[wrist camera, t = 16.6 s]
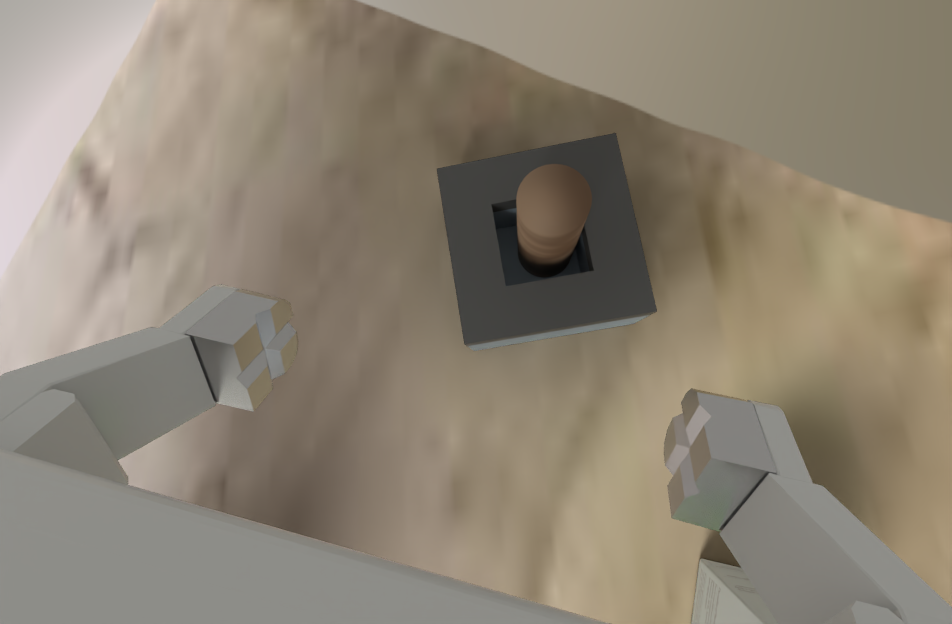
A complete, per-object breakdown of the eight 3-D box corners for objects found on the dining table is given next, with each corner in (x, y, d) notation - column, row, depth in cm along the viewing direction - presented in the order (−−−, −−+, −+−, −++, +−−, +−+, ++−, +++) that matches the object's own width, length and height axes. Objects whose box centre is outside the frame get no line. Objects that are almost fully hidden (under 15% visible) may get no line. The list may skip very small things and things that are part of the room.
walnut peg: (522, 281, 34) (523, 241, 24) (513, 231, 35) (510, 171, 25) (576, 272, 34) (598, 227, 24) (566, 221, 35) (583, 157, 25)
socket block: (474, 350, 35) (464, 344, 29) (450, 203, 37) (436, 168, 31) (633, 323, 34) (656, 311, 28) (600, 174, 36) (615, 132, 30)
